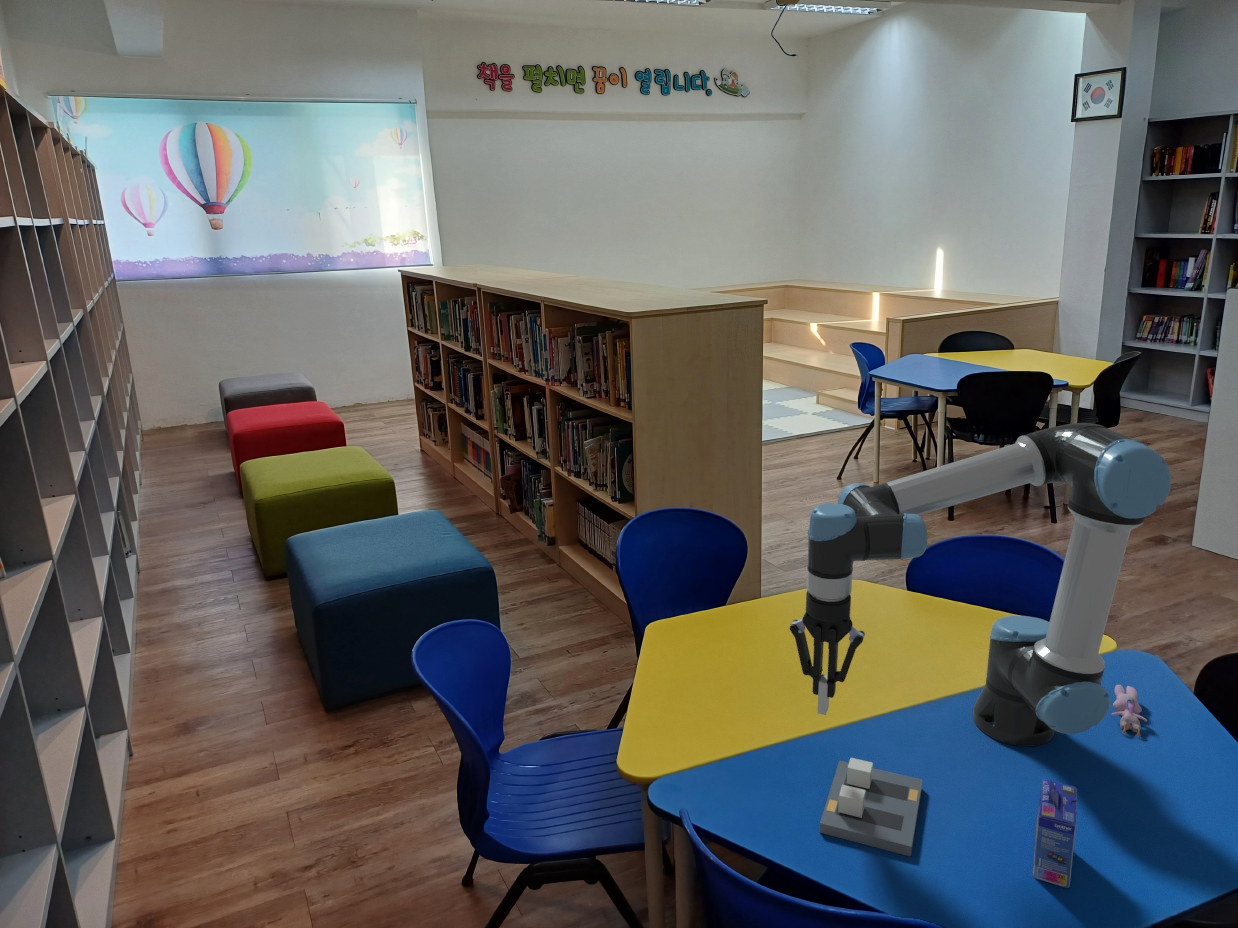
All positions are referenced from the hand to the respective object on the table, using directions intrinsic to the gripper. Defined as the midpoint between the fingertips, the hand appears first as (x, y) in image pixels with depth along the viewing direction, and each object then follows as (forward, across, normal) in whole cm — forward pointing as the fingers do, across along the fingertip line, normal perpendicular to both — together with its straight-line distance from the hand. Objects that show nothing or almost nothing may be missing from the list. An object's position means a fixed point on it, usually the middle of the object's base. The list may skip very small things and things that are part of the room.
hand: (823, 709), depth 155 cm
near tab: (+13, -7, +8) cm, 17 cm away
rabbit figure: (+16, -54, -43) cm, 71 cm away
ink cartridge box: (+16, -39, +6) cm, 42 cm away
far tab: (+13, -7, 0) cm, 15 cm away
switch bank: (+16, -10, +4) cm, 19 cm away
